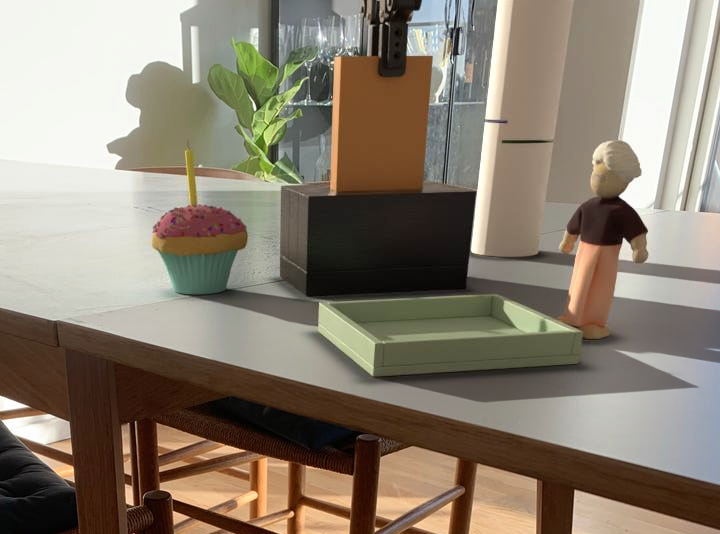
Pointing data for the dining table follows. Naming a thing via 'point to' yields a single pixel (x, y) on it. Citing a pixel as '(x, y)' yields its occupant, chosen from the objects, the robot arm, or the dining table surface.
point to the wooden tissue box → (375, 239)
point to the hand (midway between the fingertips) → (386, 76)
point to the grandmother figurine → (602, 239)
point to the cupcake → (198, 242)
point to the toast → (379, 124)
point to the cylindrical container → (520, 125)
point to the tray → (446, 334)
